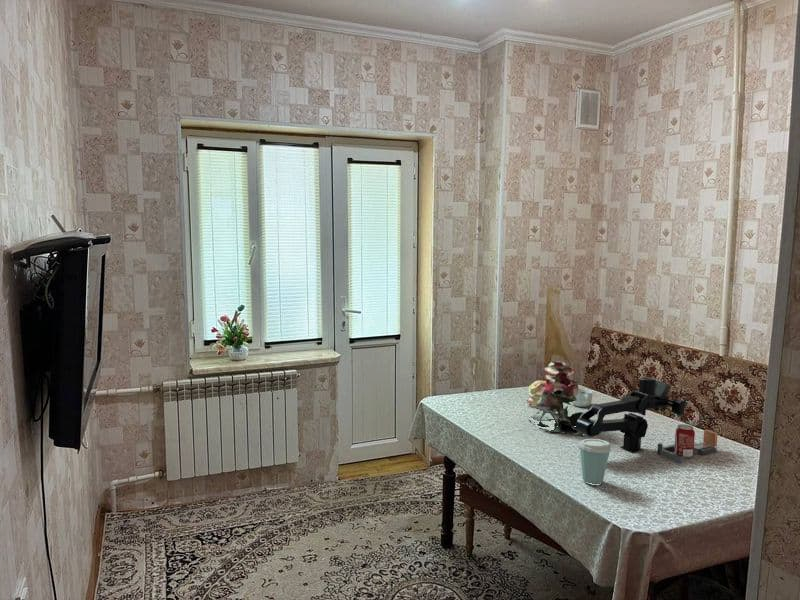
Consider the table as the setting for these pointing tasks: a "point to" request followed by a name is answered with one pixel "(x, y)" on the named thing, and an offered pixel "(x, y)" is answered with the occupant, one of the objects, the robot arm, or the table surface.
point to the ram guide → (706, 450)
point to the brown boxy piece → (707, 441)
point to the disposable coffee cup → (594, 459)
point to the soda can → (684, 441)
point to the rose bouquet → (555, 396)
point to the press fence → (669, 453)
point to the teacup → (583, 398)
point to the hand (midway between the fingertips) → (678, 400)
